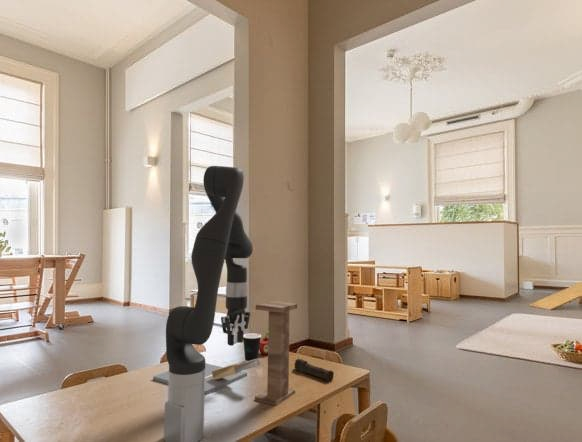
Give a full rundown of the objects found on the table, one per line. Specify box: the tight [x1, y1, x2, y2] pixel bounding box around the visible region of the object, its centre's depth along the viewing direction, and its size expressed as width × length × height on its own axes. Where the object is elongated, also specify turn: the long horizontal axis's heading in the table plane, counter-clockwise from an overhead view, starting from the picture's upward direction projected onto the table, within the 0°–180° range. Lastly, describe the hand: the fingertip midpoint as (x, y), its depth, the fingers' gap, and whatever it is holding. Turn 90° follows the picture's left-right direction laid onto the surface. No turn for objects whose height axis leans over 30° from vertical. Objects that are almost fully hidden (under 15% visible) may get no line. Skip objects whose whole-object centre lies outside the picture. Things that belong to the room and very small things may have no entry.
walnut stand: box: [254, 300, 298, 406], centre depth 130 cm, size 12×10×30 cm
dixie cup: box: [243, 332, 262, 362], centre depth 167 cm, size 8×8×11 cm
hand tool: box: [294, 358, 335, 383], centre depth 152 cm, size 19×4×5 cm, turn 41°
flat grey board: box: [152, 362, 248, 396], centre depth 147 cm, size 22×26×1 cm
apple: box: [259, 330, 268, 355], centre depth 179 cm, size 8×7×10 cm
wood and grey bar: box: [212, 357, 261, 380], centre depth 139 cm, size 4×19×3 cm, turn 61°
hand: (235, 343), depth 139 cm, fingers open, 4 cm apart
